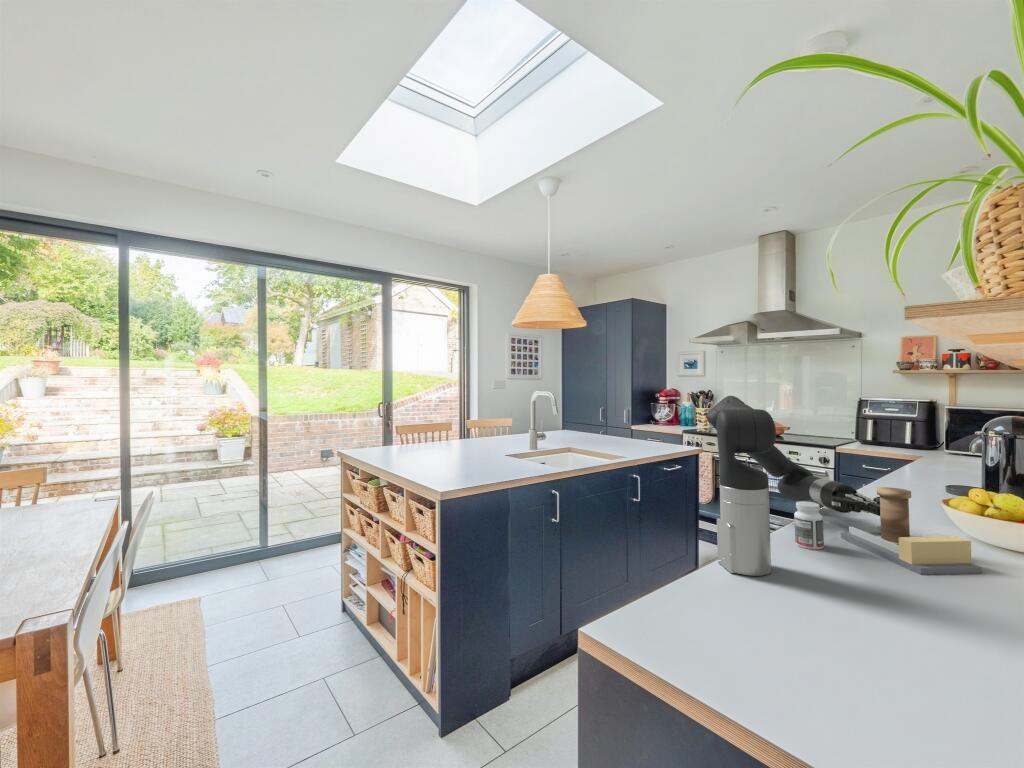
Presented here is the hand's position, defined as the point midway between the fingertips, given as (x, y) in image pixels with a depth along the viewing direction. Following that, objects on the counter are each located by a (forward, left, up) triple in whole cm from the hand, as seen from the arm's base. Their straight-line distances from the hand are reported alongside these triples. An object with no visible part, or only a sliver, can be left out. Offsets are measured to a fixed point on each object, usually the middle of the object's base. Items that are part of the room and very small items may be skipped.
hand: (885, 512), depth 105 cm
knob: (0, -2, -7) cm, 7 cm away
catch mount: (0, -5, -8) cm, 9 cm away
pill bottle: (-17, +1, -8) cm, 19 cm away
